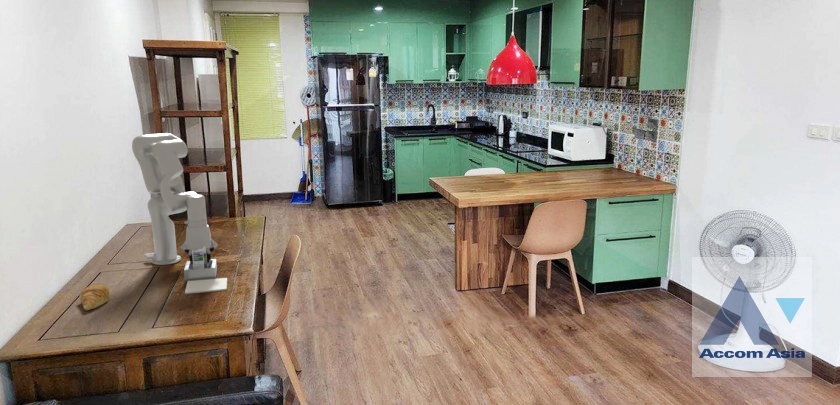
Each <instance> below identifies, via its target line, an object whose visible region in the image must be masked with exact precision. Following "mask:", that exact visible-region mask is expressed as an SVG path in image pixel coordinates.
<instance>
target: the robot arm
mask: <svg viewBox="0 0 840 405" xmlns="http://www.w3.org/2000/svg"><path fill="white" fill-rule="evenodd" d="M131 148H132V153H133V155H134V157H135V159H136V162H138V165H139V167H140V171H141V174H142V177H143V181H144V184H145V185H144V186H145V188H146V190H147V192H148V193H149V194H160V195H156V196H154V197H151V198H150V199H149V200H148V201H147V210H148V212H149V217H150V220H151V221H150V222H151V229H152V239H153V248H154V252H151V253H144V259H148V260H150V259H151V263H152V264H154V265H158V266H166V265H172V264H176V263H179V262H180V261H181V260H182V257H181V255H178V251H177V238H176V228H175V227H176V226H175V222H174V221H173V220H172V219H171V217H169V216H170V215H174V214H180V213H184V212H187V220H185V221H184V225H187V226H186V230H185V241H184V243H182V245H181V246H180V249H181V250H182V251H184V253H186V254H188V256H189V261H190V262H191V263H192V264H193V258H192V250H195V249H203V247H204V246H205V249H206V250H207V263H209V260H211V259H212V257H211V255H212V252H214V250H215V249H216V248H218V245H219V244H218V242H216V241H215V240H214V239H212V234H211V229H210V226H209V224H208V221H207V220H208V219H207V207H206V197H205V196H204V195H203V194H199V193H197V192H196V191H191V190H190V191H185V187H184V182H183V179H182V177H181V175H182V174H183V172H184V167H183V165H182V163H181V161H180V159H181V158H182V159H183V158H186V156H187V155H188V152H189V150H188V146H187V144H186V143H185V141H184V140H183V139H181V138H179V137H177V136H176V135H174V134H172V133H169V132H165V133H163V132H162V133H149V134H147V133H146V134H142V135H137V136H135V137H134V138H133V139H132V143H131ZM152 153H153V154H152Z"/></svg>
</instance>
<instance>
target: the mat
mask: <svg viewBox="0 0 840 405" xmlns="http://www.w3.org/2000/svg"><path fill="white" fill-rule="evenodd" d="M186 282H187V283H186V286H185V291H184V294H185V295H189V294H197V293H207V292H208V293H209V292H210V293H211V292H218V291H219V292H221V291H227V289H228V278H227V277H221V278H216V279H206V280H195V281H186Z"/></svg>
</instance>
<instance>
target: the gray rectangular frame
mask: <svg viewBox="0 0 840 405" xmlns="http://www.w3.org/2000/svg"><path fill="white" fill-rule="evenodd" d="M217 271H218V262H217V258H211V260H209V263H208V267H205V268H193V264H192V263H191V262H190V260H186V262H185V266H184V270H183V273H184V282H188V281H196V280H207V279H217Z"/></svg>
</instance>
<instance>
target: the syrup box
mask: <svg viewBox="0 0 840 405" xmlns="http://www.w3.org/2000/svg"><path fill="white" fill-rule="evenodd" d="M192 258H193V268H205V267H208V263H207V250H206V249H205V246H204V247H203V249H195V250H192Z"/></svg>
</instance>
